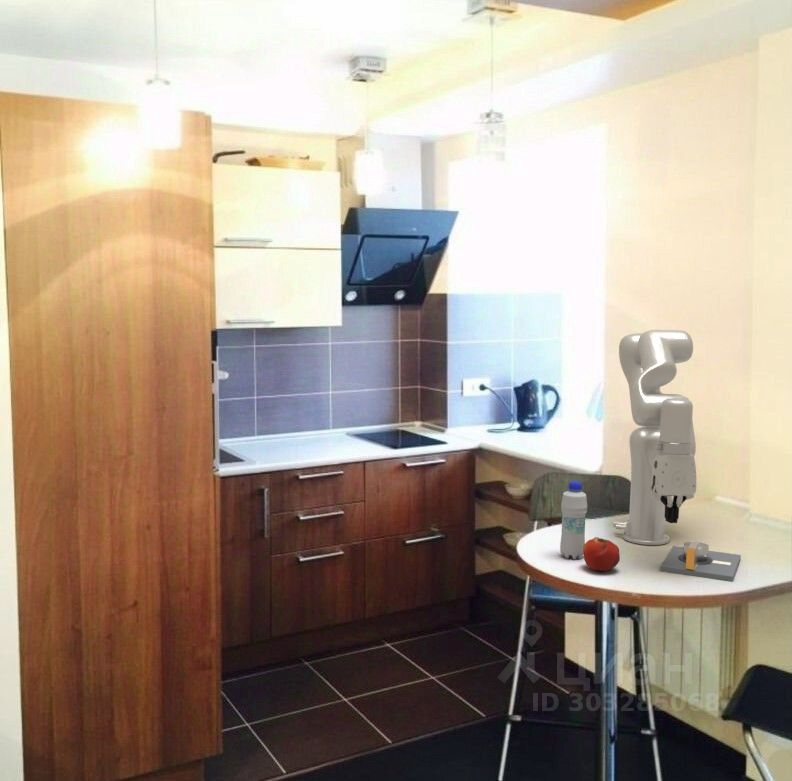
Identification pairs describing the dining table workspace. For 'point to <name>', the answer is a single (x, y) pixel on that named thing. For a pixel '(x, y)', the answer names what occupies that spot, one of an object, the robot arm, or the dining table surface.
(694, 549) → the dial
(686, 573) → the panel
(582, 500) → the bottle
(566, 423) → the dining table surface
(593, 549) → the tomato
